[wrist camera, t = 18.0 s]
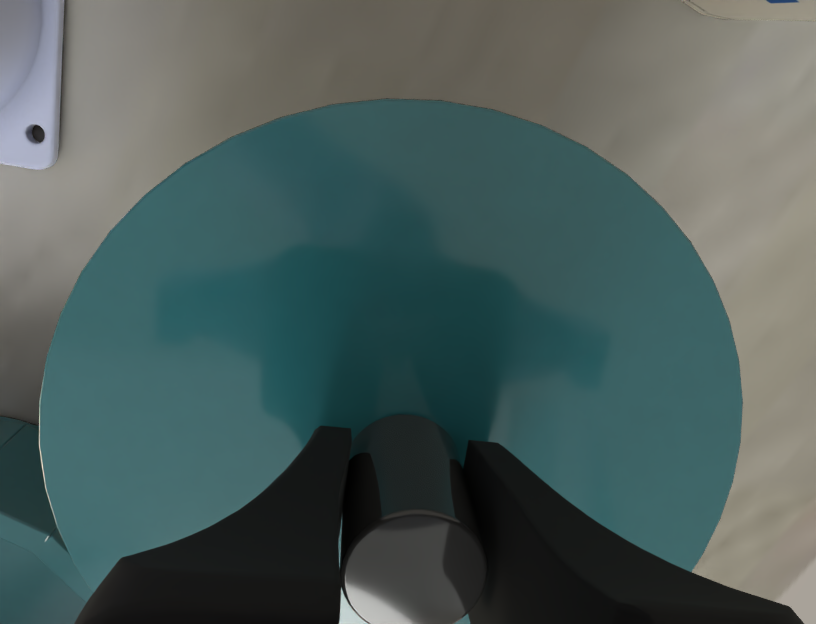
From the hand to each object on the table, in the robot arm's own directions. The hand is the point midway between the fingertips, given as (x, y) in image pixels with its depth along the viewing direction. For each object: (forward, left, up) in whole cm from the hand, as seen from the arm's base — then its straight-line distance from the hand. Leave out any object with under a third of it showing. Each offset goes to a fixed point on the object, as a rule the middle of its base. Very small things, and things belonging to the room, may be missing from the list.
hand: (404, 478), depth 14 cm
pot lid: (0, 0, -1) cm, 1 cm away
